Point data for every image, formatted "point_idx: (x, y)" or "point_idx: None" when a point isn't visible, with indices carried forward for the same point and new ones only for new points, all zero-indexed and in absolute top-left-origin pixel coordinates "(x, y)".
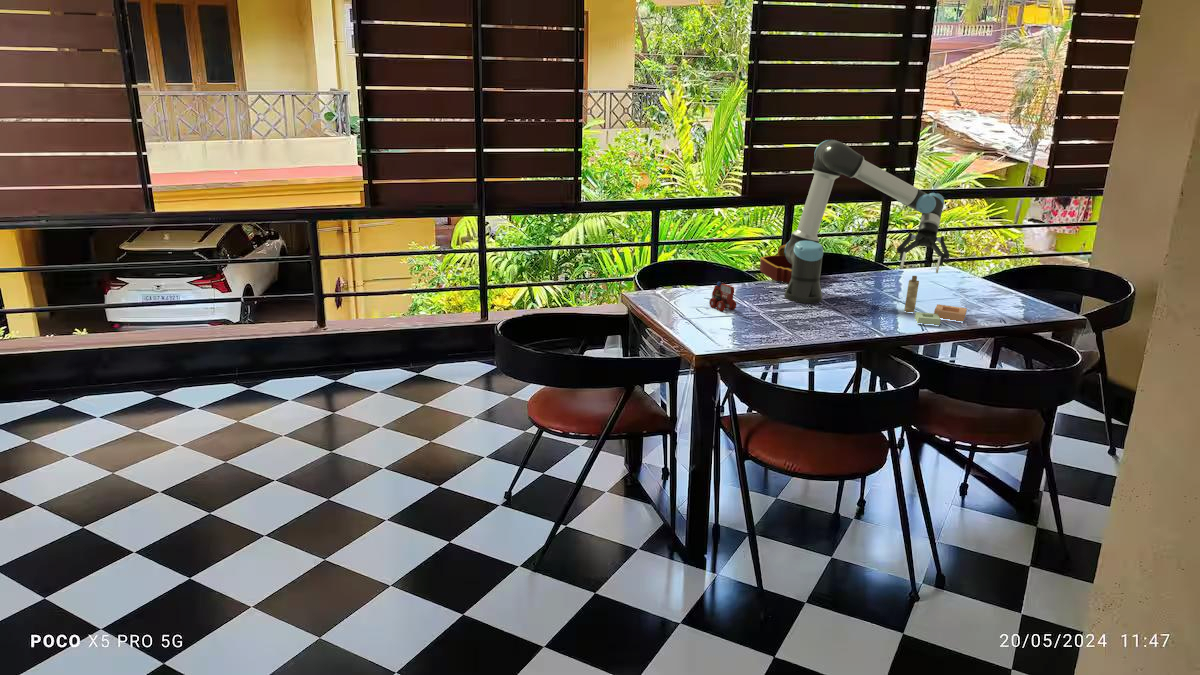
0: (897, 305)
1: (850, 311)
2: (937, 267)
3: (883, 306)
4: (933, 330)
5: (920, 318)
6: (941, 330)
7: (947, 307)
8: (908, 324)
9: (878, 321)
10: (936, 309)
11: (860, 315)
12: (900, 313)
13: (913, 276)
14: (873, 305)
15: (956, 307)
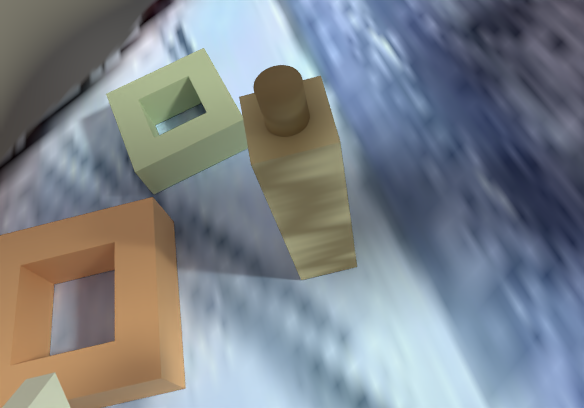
0: (465, 376)
1: (567, 36)
2: (20, 402)
3: (516, 268)
4: (141, 60)
5: (196, 54)
6: (112, 82)
7: (88, 348)
8: (251, 57)
9: (372, 4)
10: (145, 228)
11: (485, 18)
12: (355, 194)
13: (284, 65)
14: (576, 240)
15: None
